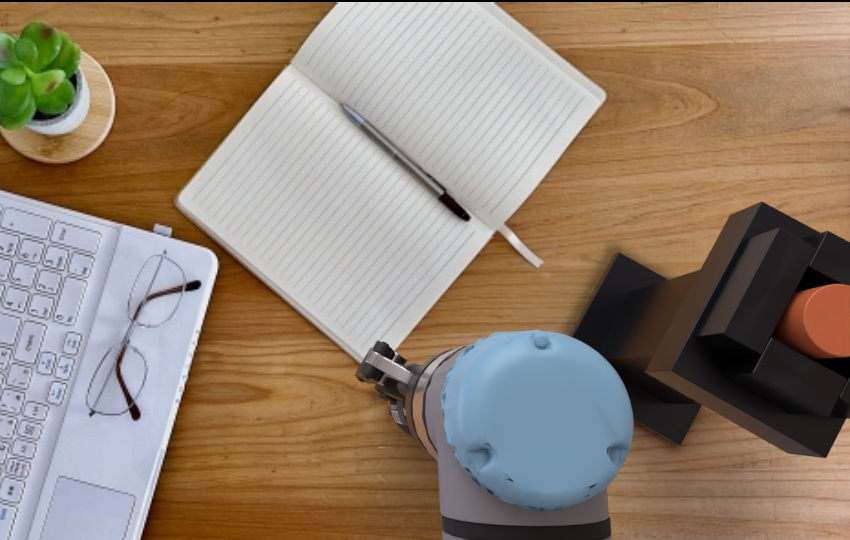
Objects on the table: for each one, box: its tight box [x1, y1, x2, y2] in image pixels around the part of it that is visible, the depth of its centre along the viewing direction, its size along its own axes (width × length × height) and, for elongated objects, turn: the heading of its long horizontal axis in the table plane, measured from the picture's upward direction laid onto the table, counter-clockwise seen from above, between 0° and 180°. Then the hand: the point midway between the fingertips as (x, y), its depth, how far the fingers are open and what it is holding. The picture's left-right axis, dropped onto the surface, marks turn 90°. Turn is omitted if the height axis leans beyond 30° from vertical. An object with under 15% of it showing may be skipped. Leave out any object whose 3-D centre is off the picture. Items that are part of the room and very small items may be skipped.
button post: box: [568, 200, 850, 459], centre depth 61 cm, size 12×12×26 cm
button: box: [773, 284, 850, 359], centre depth 48 cm, size 4×4×3 cm
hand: (423, 404), depth 73 cm, fingers closed on beverage can, 6 cm apart
